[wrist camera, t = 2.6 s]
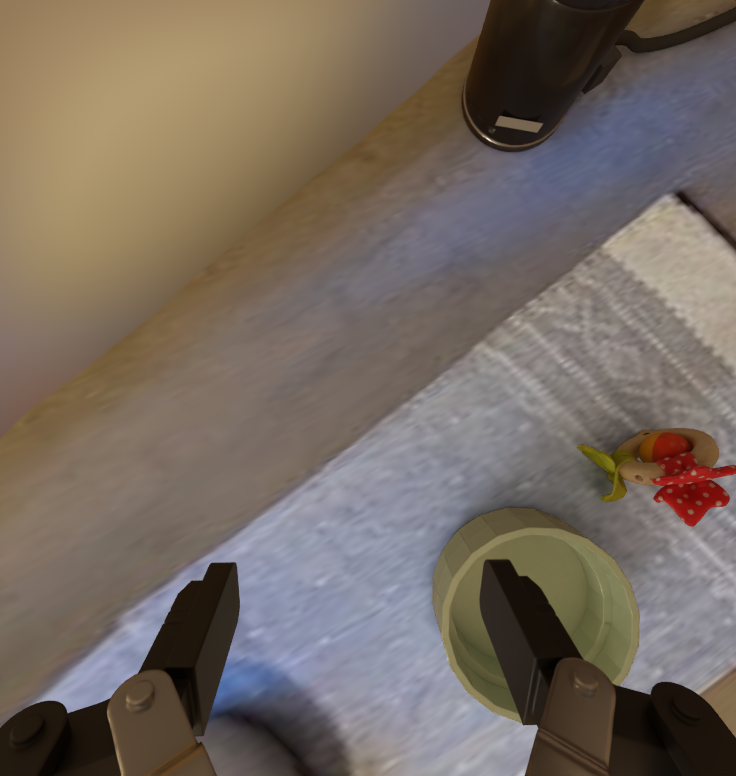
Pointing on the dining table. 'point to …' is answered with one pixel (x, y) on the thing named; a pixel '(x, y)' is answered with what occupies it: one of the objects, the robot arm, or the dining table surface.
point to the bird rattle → (668, 469)
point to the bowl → (556, 579)
